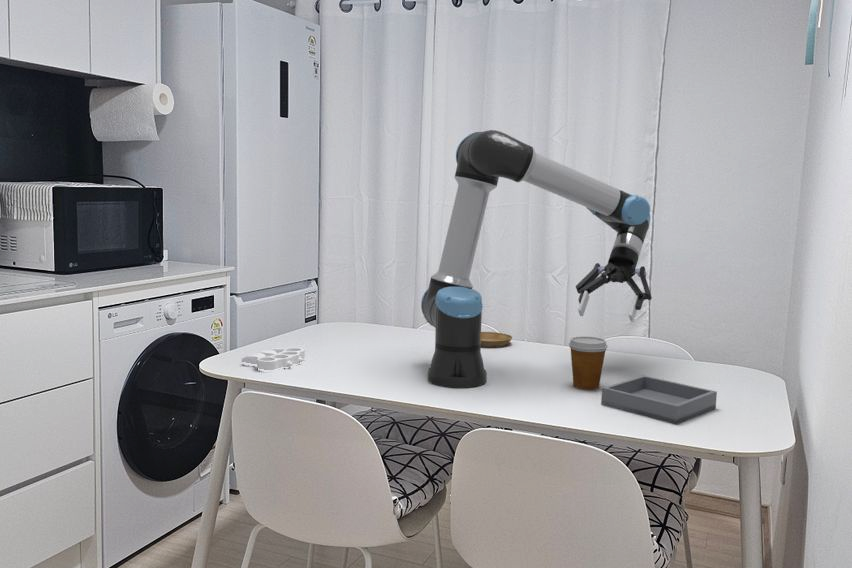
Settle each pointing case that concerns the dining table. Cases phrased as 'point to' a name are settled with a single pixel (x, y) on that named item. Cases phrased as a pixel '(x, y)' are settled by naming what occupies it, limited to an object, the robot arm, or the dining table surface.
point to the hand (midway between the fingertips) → (605, 315)
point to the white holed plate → (276, 358)
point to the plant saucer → (494, 339)
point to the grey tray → (659, 399)
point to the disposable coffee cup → (587, 361)
